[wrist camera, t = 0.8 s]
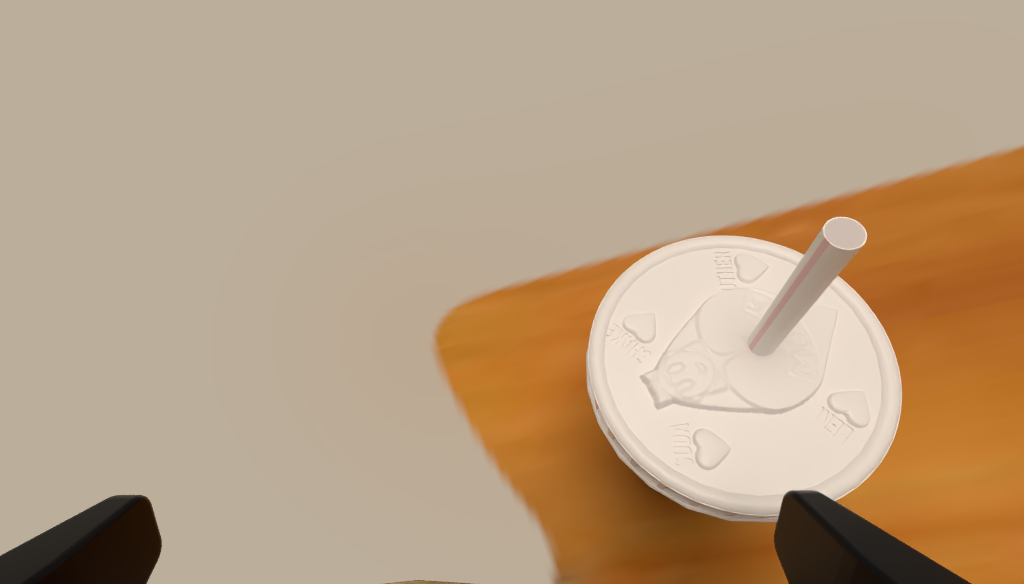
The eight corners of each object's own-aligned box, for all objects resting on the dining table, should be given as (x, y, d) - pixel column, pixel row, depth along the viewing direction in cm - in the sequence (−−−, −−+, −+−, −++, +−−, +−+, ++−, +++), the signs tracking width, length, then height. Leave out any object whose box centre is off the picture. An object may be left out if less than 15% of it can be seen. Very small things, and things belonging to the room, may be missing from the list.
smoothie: (805, 496, 18) (1246, 359, 6) (638, 569, 18) (726, 588, 5) (708, 341, 21) (859, 36, 9) (564, 401, 21) (515, 173, 9)
